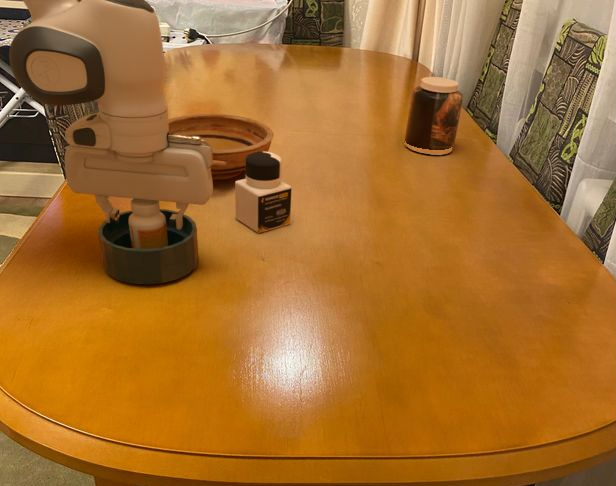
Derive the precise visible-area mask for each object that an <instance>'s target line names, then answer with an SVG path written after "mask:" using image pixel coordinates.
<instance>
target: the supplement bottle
mask: <svg viewBox="0 0 616 486" xmlns="http://www.w3.org/2000/svg"><path fill="white" fill-rule="evenodd" d="M130 205H131V206H130V207H131V208H130V209H131V210H132V212H133V213H132V214H131V215H130V216H129V219H128V221H129V230H130V238H131V245H132V249H156V248H162V247H166V246H168V238H167V228H166V219H165V216H164V214H163V213H161V212H160V209H161V206H160V201H155V200H145V199H134V198H132V199H131V201H130Z"/></svg>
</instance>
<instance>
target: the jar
mask: <svg viewBox="0 0 616 486" xmlns="http://www.w3.org/2000/svg"><path fill="white" fill-rule="evenodd" d="M458 87H459V82H458V81H457V80H454V79H451V78H447V77H441V76H425V77H423V78H421V82H420V84H419V85H418V86H415V87H414V88H413V90H412V93H411V98H410V103H409V104H410V105H409V109H408V116H407V121H406V129H405V137H404V142H405V141H406V143H407V144H409V145H411V146H414V147H417V148H422V149H429V150H445V149H449V148H451V147H453V145H454V146H455V143H456V138H457V132H458V127H459V122H460V117H461V111H462V107H463V98H464V97H463V96H464V95H463V93H462V92H461V91H459V90H458ZM453 148H454V147H453Z"/></svg>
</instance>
